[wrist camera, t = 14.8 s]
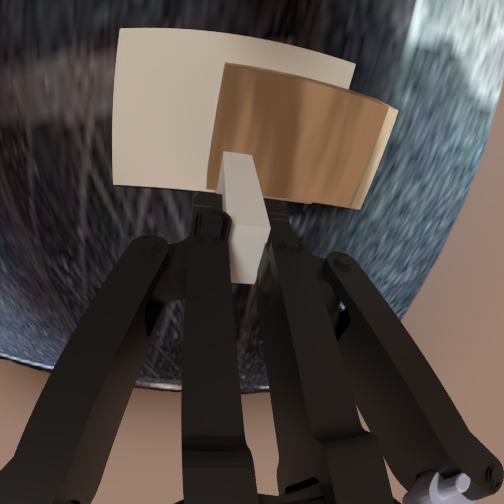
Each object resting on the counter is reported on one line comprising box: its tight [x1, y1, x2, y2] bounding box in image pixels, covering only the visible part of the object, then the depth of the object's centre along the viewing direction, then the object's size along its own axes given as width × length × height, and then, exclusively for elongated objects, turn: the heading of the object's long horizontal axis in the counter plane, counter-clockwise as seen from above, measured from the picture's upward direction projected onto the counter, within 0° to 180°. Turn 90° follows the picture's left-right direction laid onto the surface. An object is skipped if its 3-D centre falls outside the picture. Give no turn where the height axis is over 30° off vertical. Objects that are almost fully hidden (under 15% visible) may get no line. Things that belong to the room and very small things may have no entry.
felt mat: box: [112, 28, 356, 204], centre depth 24 cm, size 20×15×1 cm
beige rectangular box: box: [206, 62, 398, 210], centre depth 24 cm, size 4×10×14 cm
